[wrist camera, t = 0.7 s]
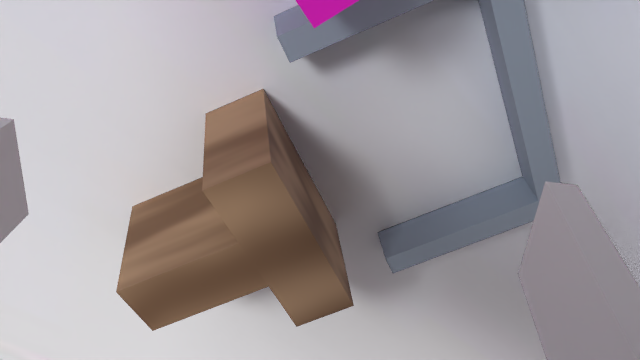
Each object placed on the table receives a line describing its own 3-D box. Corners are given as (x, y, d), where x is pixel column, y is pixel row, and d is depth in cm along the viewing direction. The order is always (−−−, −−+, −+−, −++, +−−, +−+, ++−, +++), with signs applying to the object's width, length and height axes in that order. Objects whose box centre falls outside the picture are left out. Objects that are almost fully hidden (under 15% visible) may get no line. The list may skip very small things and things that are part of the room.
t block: (95, 161, 35) (71, 244, 29) (263, 88, 34) (271, 162, 28) (192, 280, 41) (187, 367, 36) (335, 224, 40) (353, 305, 34)
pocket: (274, 16, 31) (277, 36, 29) (491, -81, 30) (510, -67, 28) (384, 247, 42) (392, 273, 40) (548, 184, 40) (565, 208, 38)
